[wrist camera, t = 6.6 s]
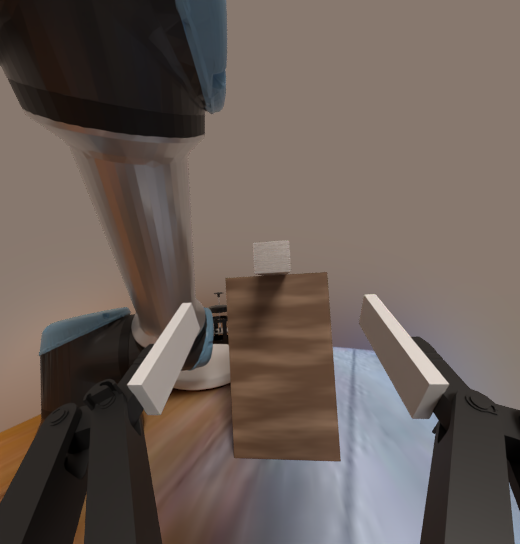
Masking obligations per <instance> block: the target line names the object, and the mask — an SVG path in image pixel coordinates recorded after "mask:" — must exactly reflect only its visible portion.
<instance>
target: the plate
mask: <svg viewBox="0 0 520 544" xmlns="http://www.w3.org/2000/svg"><path fill="white" fill-rule="evenodd" d="M228 383H231V380H230V359H229V345H227V344H213V350H212V355H211V359H210V361H209V362H208V364H207V365H205V366H203V367H199V368H195V369H194V370H191V371H188V370H185V371H180V373H179V376H178V378H177V380H176V382H175V384H174V387H173V388H176V389H183V390H202V389H210V388H215V387H219V386H222V385H225V384H228Z"/></svg>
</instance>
